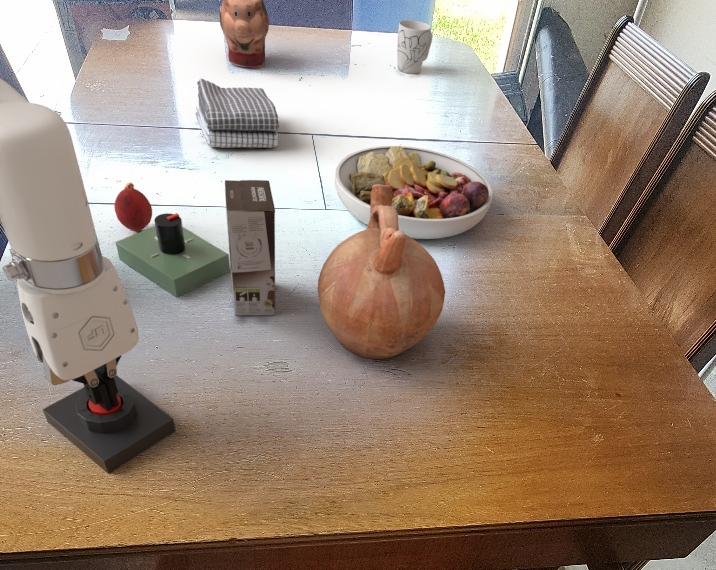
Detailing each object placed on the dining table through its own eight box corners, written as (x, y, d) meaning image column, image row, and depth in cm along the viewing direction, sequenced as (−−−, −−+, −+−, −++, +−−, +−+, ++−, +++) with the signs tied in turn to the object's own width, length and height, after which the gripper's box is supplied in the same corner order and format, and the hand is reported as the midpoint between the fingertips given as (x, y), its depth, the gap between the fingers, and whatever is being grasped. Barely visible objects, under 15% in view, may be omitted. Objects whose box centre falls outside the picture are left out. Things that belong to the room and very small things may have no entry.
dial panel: (119, 259, 97) (114, 241, 95) (173, 236, 103) (170, 218, 100) (176, 297, 93) (173, 278, 90) (230, 271, 98) (228, 253, 96)
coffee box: (276, 316, 92) (275, 211, 79) (234, 316, 91) (226, 210, 78) (272, 282, 98) (270, 178, 85) (231, 282, 96) (223, 177, 84)
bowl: (308, 218, 111) (309, 173, 105) (366, 158, 129) (370, 117, 123) (462, 264, 107) (473, 221, 100) (500, 196, 124) (512, 155, 118)
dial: (170, 257, 94) (166, 227, 90) (153, 247, 95) (148, 217, 91) (190, 248, 96) (186, 218, 92) (173, 238, 97) (169, 208, 93)
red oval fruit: (143, 244, 101) (134, 195, 94) (113, 235, 101) (101, 186, 95) (161, 228, 104) (153, 180, 98) (131, 220, 105) (122, 171, 99)
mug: (415, 61, 171) (422, 17, 163) (437, 71, 167) (445, 26, 160) (387, 67, 165) (392, 21, 158) (408, 77, 162) (415, 31, 154)
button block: (47, 422, 74) (37, 398, 71) (116, 384, 80) (109, 360, 77) (108, 474, 71) (100, 450, 67) (176, 431, 76) (171, 407, 73)
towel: (209, 153, 123) (205, 110, 117) (195, 116, 133) (191, 75, 127) (281, 151, 127) (281, 109, 121) (263, 115, 137) (262, 75, 131)
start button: (86, 412, 73) (82, 401, 71) (111, 398, 75) (108, 387, 73) (104, 427, 72) (101, 416, 70) (129, 412, 74) (126, 402, 72)
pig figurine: (220, 46, 163) (216, -21, 152) (266, 48, 165) (264, -18, 154) (224, 73, 151) (219, 2, 140) (273, 75, 153) (272, 6, 142)
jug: (443, 377, 87) (478, 245, 71) (318, 374, 85) (326, 237, 69) (424, 302, 98) (451, 174, 83) (313, 297, 96) (319, 165, 80)
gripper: (8, 306, 52) (69, 451, 67) (149, 247, 60) (176, 388, 74) (-39, 270, 55) (29, 417, 69) (102, 218, 62) (137, 360, 77)
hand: (105, 402), depth 72 cm, fingers closed
